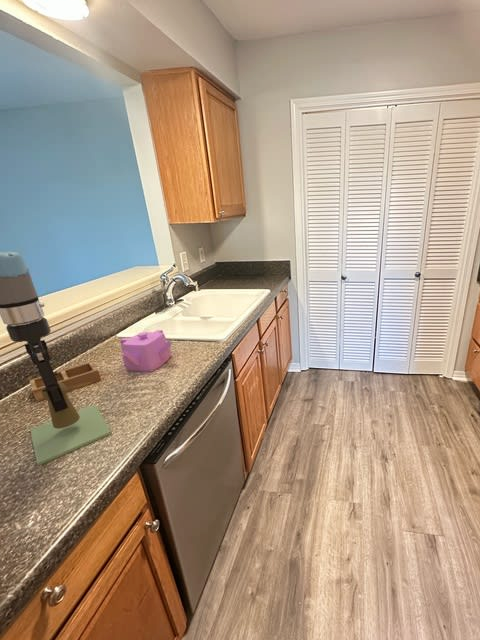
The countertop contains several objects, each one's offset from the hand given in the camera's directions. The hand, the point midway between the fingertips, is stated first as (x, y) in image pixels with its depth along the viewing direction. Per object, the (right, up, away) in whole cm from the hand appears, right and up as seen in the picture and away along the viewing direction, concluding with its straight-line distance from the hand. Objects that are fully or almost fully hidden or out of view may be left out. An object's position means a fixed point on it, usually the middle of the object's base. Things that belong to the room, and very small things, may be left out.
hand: (59, 404), depth 84 cm
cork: (0, -5, +2) cm, 5 cm away
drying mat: (0, -8, +3) cm, 9 cm away
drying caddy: (-17, +1, +27) cm, 33 cm away
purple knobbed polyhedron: (+5, +7, +40) cm, 41 cm away
